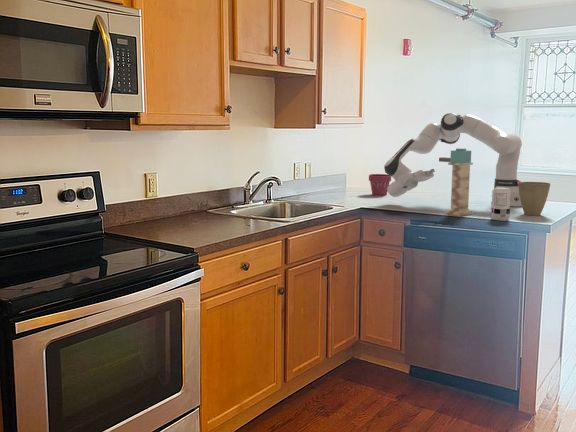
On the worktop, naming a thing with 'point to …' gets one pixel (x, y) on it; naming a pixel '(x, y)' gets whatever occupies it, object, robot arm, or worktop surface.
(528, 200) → the plant pot
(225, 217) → the worktop surface
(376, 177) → the plant pot
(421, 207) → the worktop surface
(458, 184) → the birch stand
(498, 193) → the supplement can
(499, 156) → the robot arm
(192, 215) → the worktop surface
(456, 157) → the teal cap handle
